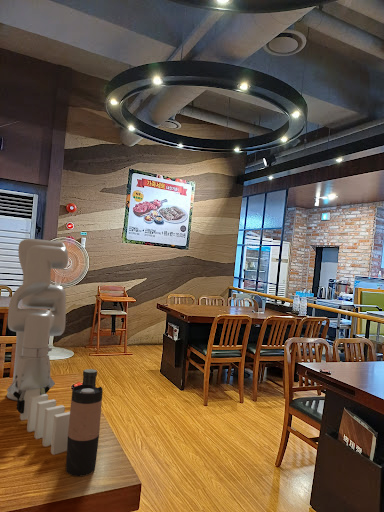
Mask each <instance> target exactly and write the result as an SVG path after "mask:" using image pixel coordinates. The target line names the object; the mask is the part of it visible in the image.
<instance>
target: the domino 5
mask: <svg viewBox="0 0 384 512" xmlns="http://www.w3.org/2000/svg"><path fill="white" fill-rule="evenodd" d="M69 419H70V411H67V412H66V411H65V412H64V413H61V414H57V415H54V422H53V433H52V443H51V445H50V453H51V454H52V455H53V456H55V455H57V454H61V453H64V452H67V441H68V428H69Z"/></svg>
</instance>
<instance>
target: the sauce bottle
mask: <svg viewBox="0 0 384 512" xmlns="http://www.w3.org/2000/svg"><path fill="white" fill-rule="evenodd" d="M82 376H83V377H82V383H81V385H84V384H91V385H93V386H94V387H96V388H97V386H96V385H97V384H96V382H97V381H96V380H97V376H98V371H97V370H96V369H94V368H93V369H92V368H86V369H84V370H82Z"/></svg>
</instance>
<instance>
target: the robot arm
mask: <svg viewBox="0 0 384 512" xmlns="http://www.w3.org/2000/svg"><path fill="white" fill-rule="evenodd" d="M17 251H18V253H17V254H18V259H19V264H20V267H21V270H22V273H23V275H22V276H23V277H22V284H21V285H20V286H18V287H17V289H16V290H15V291H14V292H13V294H12V295H11V297H10V300H9V303H8V312H7V313H8V314H7V328H8V329H9V330H10V331H12V332H15V333H16V337H15V338H16V342H15V343H16V344H15V356H14V365H13V366H14V367H13V376H12V377H13V378H12V383H10V385H9V386H8V387H7V389H6V391H7V393H6V398H8V399H10V400H12V401H16V410H17V412H18V413H19V414H20V413H21V414H22V413H24V405H25V400H23V399H24V395H25V393H26V390H32V389H38V388H40V395H42V394H47V393H48V392H49V391H50V389H51V388H53V387H54V386H55V385H56V383H55V381H54V380H53V379H52V377H51V359H50V355H49V352H52V350H53V348H52V346H49V340H50V337H57V336H62V334H64V333H65V329H66V322H67V321H66V319H67V318H66V317H67V316H66V315H67V313H66V310H67V308H66V307H67V306H66V304H67V302H66V301H67V299H66V298H67V296H66V295H67V294H66V291H65V290H66V289H65V288H64V286H62V285H59V284H51V283H52V281H51V280H52V278H51V276H52V274H51V272H52V269H53V270H65V269H66V268H67V266H68V263H69V252H68V249H67V247H66V244H65V243H64V242H62V241H59V240H58V241H57V240H47V239H37V238H25V239H23V240H20V242H19V244H18V249H17ZM20 302H21V303H22V305H23V307H25V308H18V307H19V303H20Z"/></svg>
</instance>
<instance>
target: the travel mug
mask: <svg viewBox="0 0 384 512" xmlns="http://www.w3.org/2000/svg"><path fill="white" fill-rule="evenodd" d="M102 401H103V387H102V386H99V387H97V386H96V387H94V386H93V385H91V384H84V385H82V384H78V385H75V386H73V388H72V391H71V400H70V411H69V412H70V419H69V428H68V441H67V451H66V463H65V471H66V473H67V474H68V475H71V476H73V477H85V476H88V475H91V474H92V473H93V472H94V471H95V470H96V464H97V463H96V462H97V454H98V447H99V441H100V440H99V438H100V429H101V427H100V426H101V418H102V417H101V414H102Z"/></svg>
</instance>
